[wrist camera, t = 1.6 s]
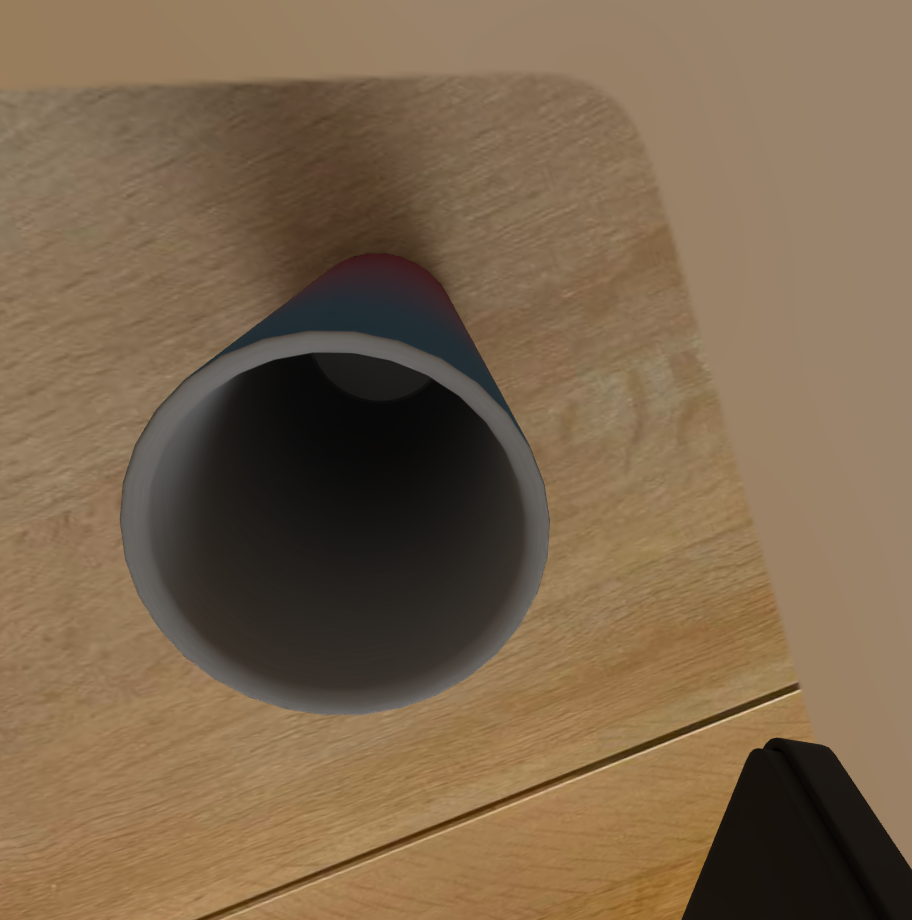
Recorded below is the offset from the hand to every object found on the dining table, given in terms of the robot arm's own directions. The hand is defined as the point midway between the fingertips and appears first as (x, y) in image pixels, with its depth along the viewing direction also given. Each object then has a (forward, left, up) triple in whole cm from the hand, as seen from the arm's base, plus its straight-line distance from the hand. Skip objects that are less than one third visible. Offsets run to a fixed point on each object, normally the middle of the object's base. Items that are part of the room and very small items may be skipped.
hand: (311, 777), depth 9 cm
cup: (0, 0, -20) cm, 20 cm away
